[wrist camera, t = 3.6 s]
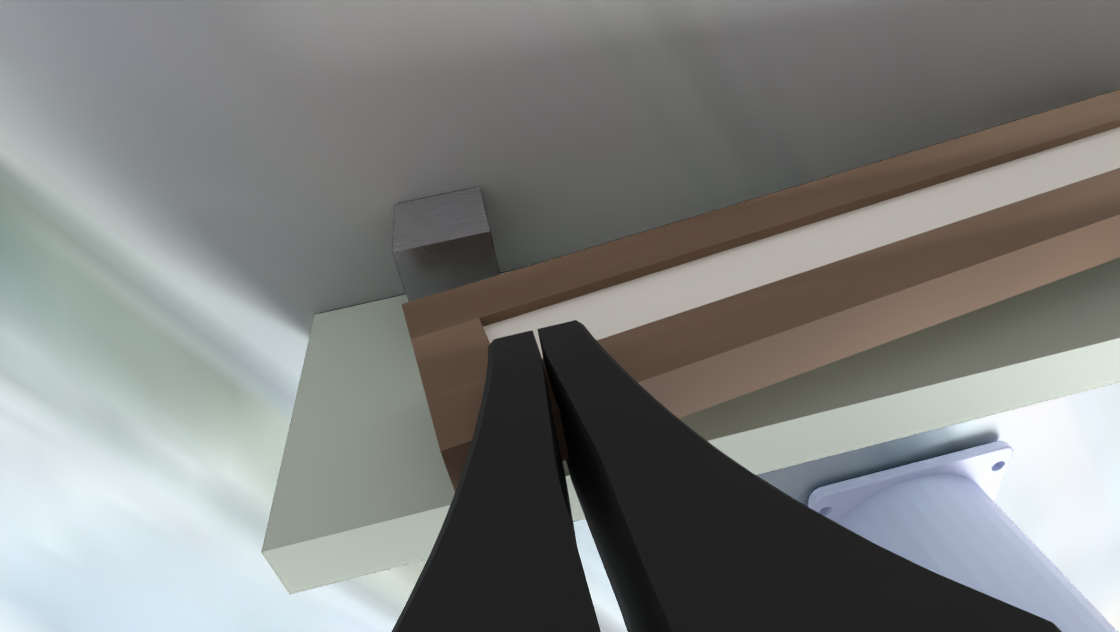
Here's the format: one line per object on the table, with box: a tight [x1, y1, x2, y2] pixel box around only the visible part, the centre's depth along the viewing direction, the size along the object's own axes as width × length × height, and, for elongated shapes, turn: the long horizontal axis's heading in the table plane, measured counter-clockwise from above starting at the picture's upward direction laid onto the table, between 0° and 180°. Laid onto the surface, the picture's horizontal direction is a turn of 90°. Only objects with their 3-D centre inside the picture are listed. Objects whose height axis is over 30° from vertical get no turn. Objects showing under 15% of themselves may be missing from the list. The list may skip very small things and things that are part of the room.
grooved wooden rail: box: [402, 89, 1120, 491], centre depth 12 cm, size 1×20×4 cm, turn 98°
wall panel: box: [262, 187, 1120, 594], centre depth 14 cm, size 4×26×7 cm, turn 98°
